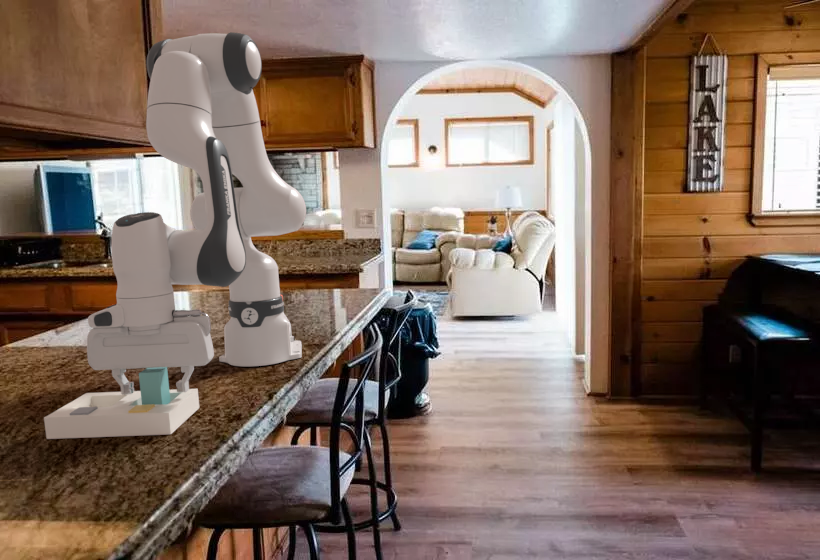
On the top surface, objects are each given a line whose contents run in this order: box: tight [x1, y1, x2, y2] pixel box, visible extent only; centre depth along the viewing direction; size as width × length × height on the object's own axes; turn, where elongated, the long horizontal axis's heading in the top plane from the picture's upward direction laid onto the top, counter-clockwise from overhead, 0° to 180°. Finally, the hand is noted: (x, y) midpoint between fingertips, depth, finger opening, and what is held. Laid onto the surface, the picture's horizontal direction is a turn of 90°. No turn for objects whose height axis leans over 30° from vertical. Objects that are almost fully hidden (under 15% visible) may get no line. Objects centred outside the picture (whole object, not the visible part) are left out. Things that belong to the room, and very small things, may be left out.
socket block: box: [43, 388, 200, 440], centre depth 111 cm, size 13×20×4 cm, turn 88°
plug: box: [138, 367, 171, 405], centre depth 112 cm, size 3×3×8 cm
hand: (155, 392), depth 112 cm, fingers open, 8 cm apart
